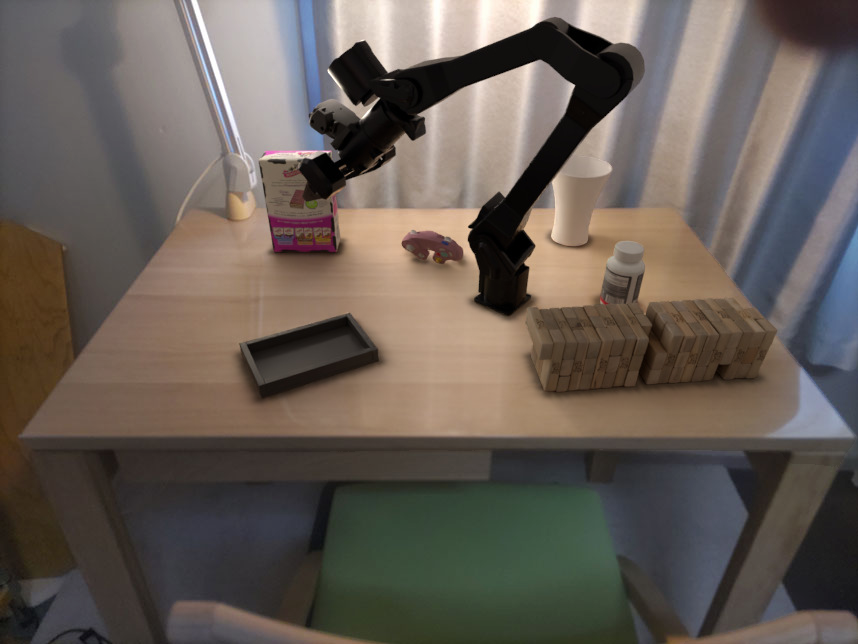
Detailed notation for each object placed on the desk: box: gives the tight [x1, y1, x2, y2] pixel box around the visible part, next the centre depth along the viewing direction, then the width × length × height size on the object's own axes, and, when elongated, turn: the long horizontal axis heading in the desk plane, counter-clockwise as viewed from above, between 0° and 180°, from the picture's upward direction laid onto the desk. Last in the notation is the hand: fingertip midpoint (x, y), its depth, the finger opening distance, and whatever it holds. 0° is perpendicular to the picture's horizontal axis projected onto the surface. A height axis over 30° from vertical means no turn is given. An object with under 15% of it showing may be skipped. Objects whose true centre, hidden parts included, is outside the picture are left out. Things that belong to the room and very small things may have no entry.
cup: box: [550, 154, 614, 247], centre depth 105 cm, size 10×10×14 cm
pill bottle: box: [599, 240, 646, 305], centre depth 88 cm, size 5×5×10 cm
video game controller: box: [401, 229, 464, 265], centre depth 100 cm, size 10×5×7 cm, turn 68°
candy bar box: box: [258, 150, 341, 253], centre depth 101 cm, size 11×5×16 cm, turn 89°
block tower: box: [524, 296, 778, 393], centre depth 76 cm, size 8×8×29 cm
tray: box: [238, 312, 379, 399], centre depth 79 cm, size 16×10×2 cm, turn 118°
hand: (322, 188), depth 97 cm, fingers open, 9 cm apart
